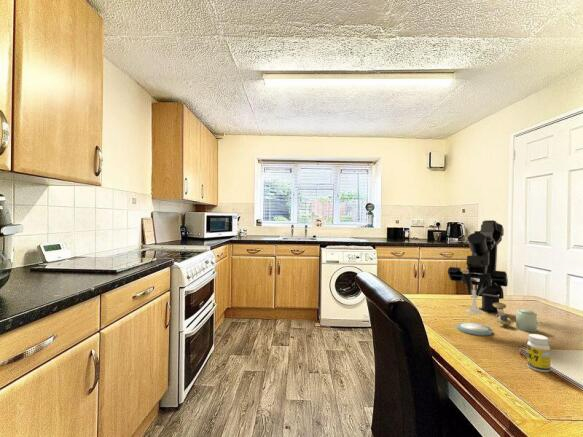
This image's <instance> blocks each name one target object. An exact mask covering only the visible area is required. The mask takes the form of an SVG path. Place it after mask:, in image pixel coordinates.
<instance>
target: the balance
mask: <svg viewBox="0 0 583 437" xmlns="http://www.w3.org/2000/svg"><path fill="white" fill-rule="evenodd" d="M499 302H500V301H499ZM499 302H495V303H493V306H494V307H496V308H497V311H498V313H496V322H498V323H500V324H503V325H510V324H512V319H511V318H509V317H508V314H505V311H504V309H506V308H507V304H505V303H503V302H500V303H499Z"/></svg>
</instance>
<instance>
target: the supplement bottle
mask: <svg viewBox="0 0 583 437" xmlns="http://www.w3.org/2000/svg"><path fill="white" fill-rule="evenodd" d="M526 350H527V351H526V353H527V356H526V357H527V362H526V363H527V364H526V365H527V367H528V368H530V369H531V370H534V371H537V372H541V373H549V372H550V371H551V346H550V345H549V338H548V337H547V336H545V335H542V334H538V333H530V334H528V341H527V343H526Z"/></svg>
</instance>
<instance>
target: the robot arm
mask: <svg viewBox="0 0 583 437" xmlns="http://www.w3.org/2000/svg"><path fill="white" fill-rule="evenodd" d="M504 235H505V232H504V226H503V224H500V223H498V222H497V220H493V219H492V220H486V219H485V220H483V221H482V223H481V225H480V230H474V232H473V233H470V234H469V235H468V236H467V241H468V246H469V249H470V252H471V255H467V256H466V269H465V270H464V269H463V270H461V267H458V266H449V267H448V268H447V273H448V276H449V279H450V281H452V282H453V281H454V282H460V281H462V283H463V284H466V287H467V292H468V295H469V296H472V292H471V290H473V282H472V279H477V280H479V281H478V283H477V288H476V290H477V292H476V296H477V297H481V307H478V310H481V311H482V312H483V311H484V312H485V313H489V314H493V313H496V314H498V311H497V308H496V307H494V306H493V303H495V302H499V303H501V301H500V300H501V299H504V296H505V295H504V289H503V287H508V285H509V279H508V274H507V272H506V271H503V270H502V271H501V270H497V259H498V258H497V257H498V245H499V244H500V243H501V242H502V241H503V240H502V239H503V236H504Z"/></svg>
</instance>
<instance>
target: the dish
mask: <svg viewBox="0 0 583 437" xmlns="http://www.w3.org/2000/svg"><path fill="white" fill-rule="evenodd" d="M456 329H457V330H458V331H460V332H462V333H464V334H468V335H473V336H479V337H480V336H481V337H485V336H491V335H493V328H491V327H490V326H487V325H484V324H480V323H476V322H475V323H474V322H459V323H457V324H456Z"/></svg>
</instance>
